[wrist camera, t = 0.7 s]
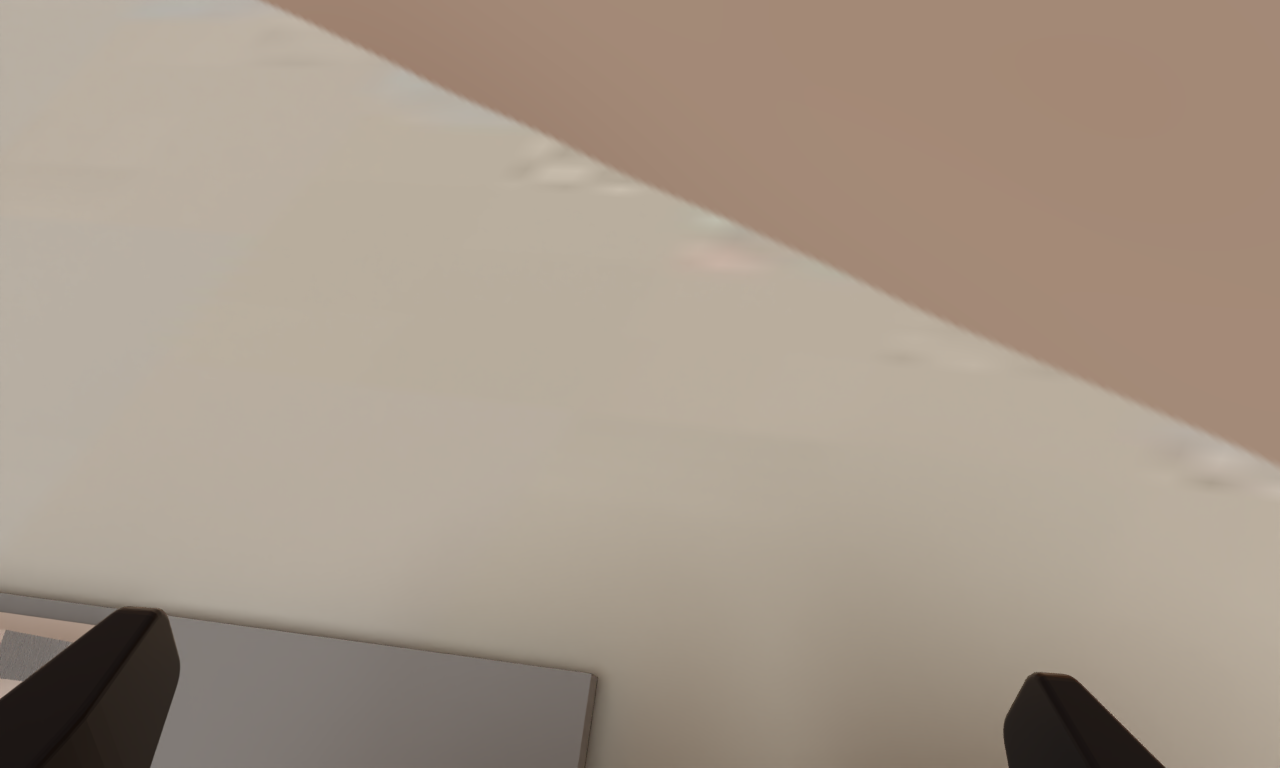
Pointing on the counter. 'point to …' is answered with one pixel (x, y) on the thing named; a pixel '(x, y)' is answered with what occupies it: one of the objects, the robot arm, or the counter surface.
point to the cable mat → (351, 702)
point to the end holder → (31, 645)
